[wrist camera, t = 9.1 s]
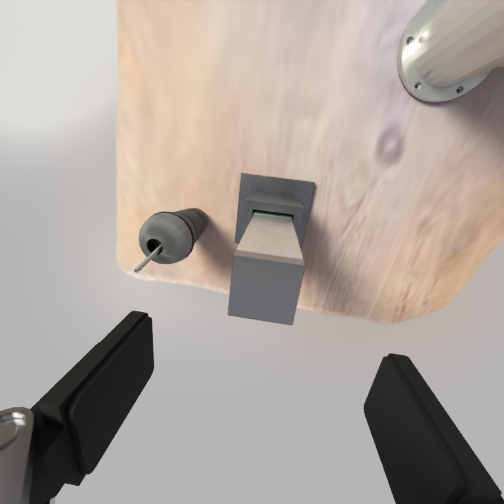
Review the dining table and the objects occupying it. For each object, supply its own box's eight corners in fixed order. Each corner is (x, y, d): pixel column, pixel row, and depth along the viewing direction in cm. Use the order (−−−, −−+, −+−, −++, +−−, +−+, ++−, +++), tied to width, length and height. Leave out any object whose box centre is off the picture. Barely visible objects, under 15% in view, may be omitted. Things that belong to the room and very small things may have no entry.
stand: (313, 182, 39) (330, 188, 26) (300, 249, 43) (309, 281, 31) (242, 173, 39) (226, 175, 27) (235, 240, 43) (219, 268, 31)
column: (289, 208, 33) (306, 264, 14) (284, 238, 35) (292, 326, 16) (258, 204, 33) (232, 254, 14) (254, 234, 35) (226, 315, 16)
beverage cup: (211, 198, 41) (157, 223, 23) (217, 238, 44) (173, 290, 25) (173, 202, 42) (90, 229, 24) (180, 240, 45) (111, 292, 26)
